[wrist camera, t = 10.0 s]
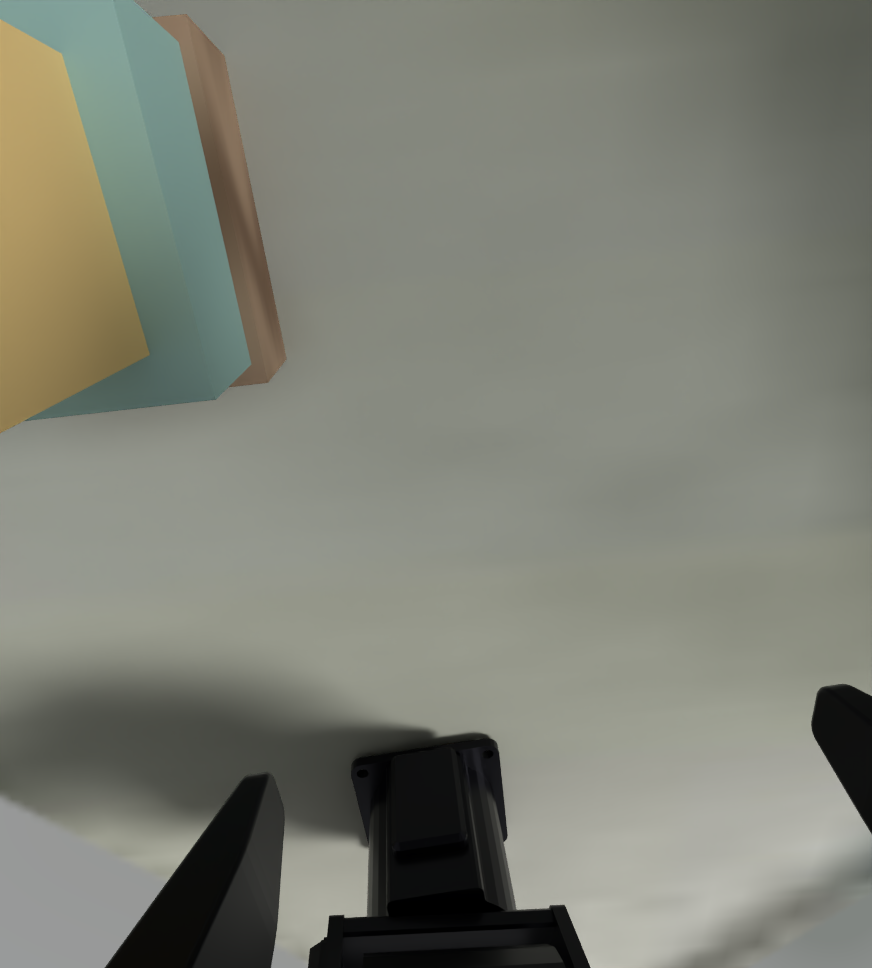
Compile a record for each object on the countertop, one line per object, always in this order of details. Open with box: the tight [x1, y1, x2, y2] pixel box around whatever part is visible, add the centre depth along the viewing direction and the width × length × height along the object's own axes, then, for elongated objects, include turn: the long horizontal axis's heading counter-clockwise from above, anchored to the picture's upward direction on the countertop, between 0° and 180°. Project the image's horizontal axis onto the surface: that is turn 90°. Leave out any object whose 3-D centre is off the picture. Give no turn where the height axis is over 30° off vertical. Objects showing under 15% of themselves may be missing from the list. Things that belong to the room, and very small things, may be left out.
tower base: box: [152, 14, 286, 387], centre depth 15 cm, size 8×8×4 cm
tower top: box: [0, 0, 251, 421], centre depth 12 cm, size 7×7×4 cm
